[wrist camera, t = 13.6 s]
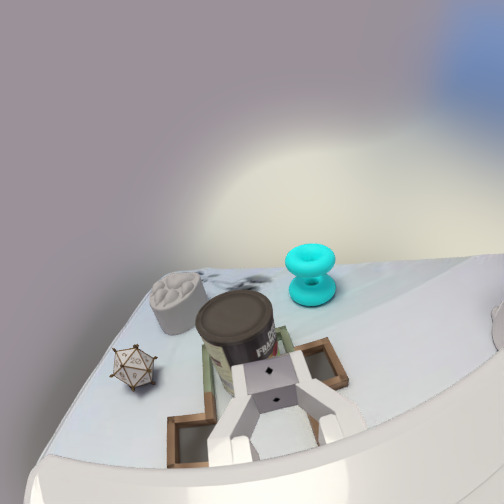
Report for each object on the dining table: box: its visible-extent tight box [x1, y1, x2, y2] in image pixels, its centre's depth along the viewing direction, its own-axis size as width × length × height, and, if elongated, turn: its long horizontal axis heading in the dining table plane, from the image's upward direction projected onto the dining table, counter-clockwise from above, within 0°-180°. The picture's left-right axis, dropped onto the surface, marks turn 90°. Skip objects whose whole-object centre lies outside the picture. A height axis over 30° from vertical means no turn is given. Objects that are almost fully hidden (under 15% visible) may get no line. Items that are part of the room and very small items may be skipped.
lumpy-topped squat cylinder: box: [150, 273, 208, 335], centre depth 56 cm, size 10×13×9 cm
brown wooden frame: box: [167, 326, 349, 469], centre depth 32 cm, size 27×35×2 cm
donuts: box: [285, 244, 336, 306], centre depth 55 cm, size 10×10×10 cm
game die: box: [109, 344, 158, 392], centre depth 41 cm, size 9×8×10 cm
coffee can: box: [195, 290, 280, 397], centre depth 38 cm, size 10×10×14 cm
